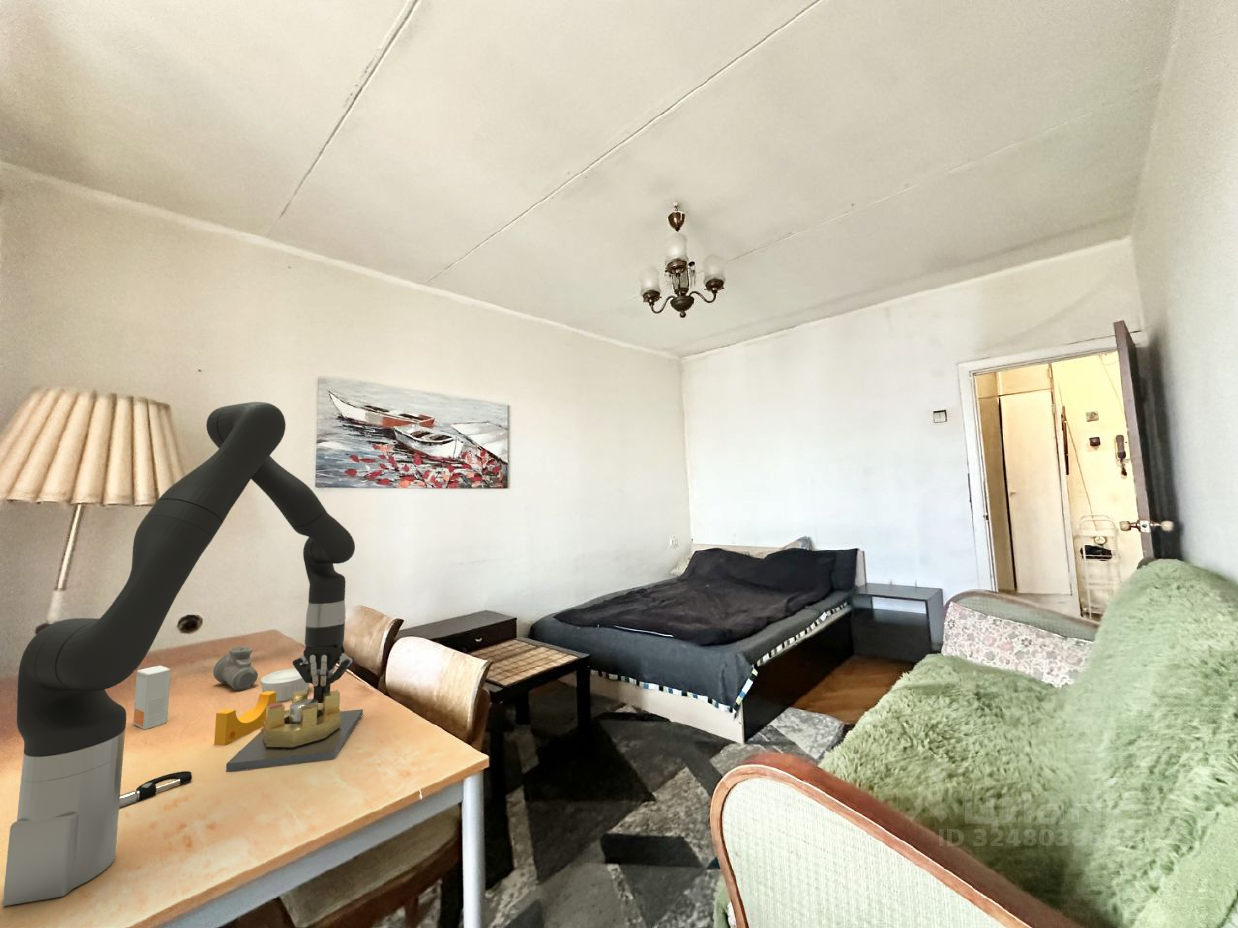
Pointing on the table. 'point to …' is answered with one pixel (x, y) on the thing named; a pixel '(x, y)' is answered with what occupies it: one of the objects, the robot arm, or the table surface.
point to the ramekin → (284, 683)
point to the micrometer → (153, 788)
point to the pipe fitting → (236, 669)
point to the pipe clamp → (242, 720)
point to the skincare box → (152, 697)
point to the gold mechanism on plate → (318, 750)
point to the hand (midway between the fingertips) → (321, 701)
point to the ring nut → (302, 721)
